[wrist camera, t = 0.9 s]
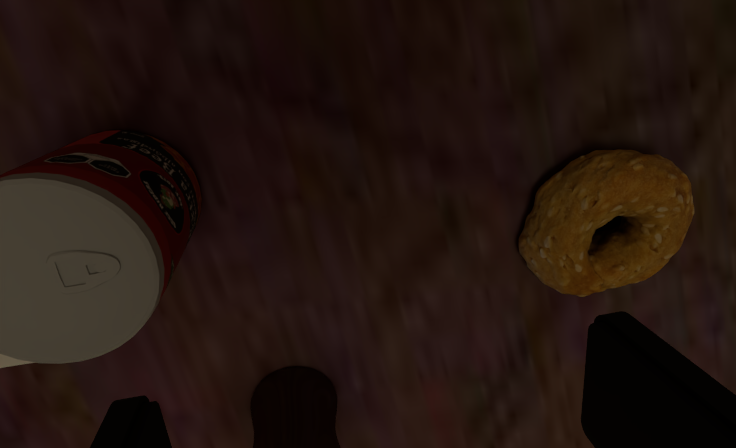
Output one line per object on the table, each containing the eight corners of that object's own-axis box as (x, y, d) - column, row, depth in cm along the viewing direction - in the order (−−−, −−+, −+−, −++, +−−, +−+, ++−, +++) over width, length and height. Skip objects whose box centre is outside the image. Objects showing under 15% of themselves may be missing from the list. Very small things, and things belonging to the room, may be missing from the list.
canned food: (228, 220, 30) (198, 313, 19) (108, 276, 30) (15, 398, 19) (158, 102, 27) (80, 137, 16) (25, 164, 27) (-135, 237, 16)
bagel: (492, 191, 32) (525, 214, 28) (642, 114, 32) (700, 125, 27) (537, 307, 36) (573, 344, 31) (672, 238, 36) (728, 265, 31)
